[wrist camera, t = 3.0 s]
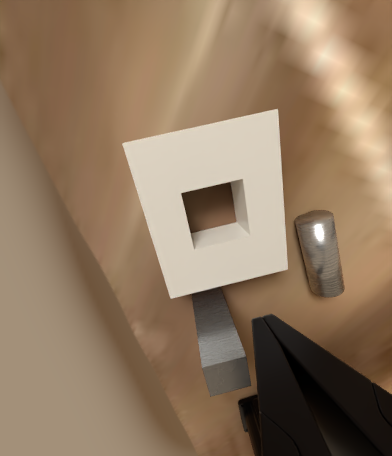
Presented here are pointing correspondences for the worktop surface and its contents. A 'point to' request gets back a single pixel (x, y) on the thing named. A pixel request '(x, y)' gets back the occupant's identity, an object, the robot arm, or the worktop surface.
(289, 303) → the worktop surface
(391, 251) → the worktop surface
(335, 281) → the round bit
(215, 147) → the socket block
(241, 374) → the square bit
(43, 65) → the worktop surface
